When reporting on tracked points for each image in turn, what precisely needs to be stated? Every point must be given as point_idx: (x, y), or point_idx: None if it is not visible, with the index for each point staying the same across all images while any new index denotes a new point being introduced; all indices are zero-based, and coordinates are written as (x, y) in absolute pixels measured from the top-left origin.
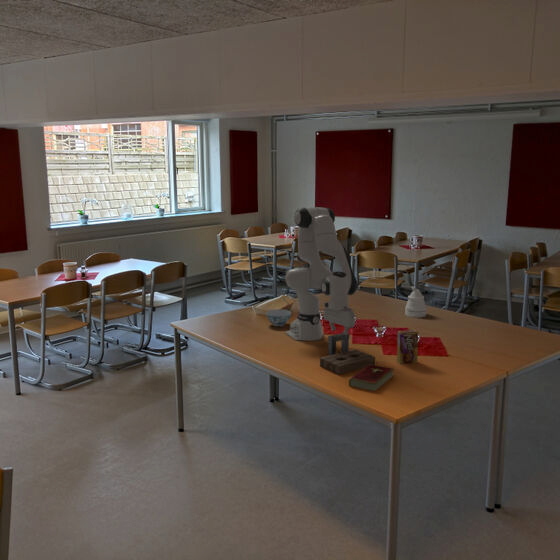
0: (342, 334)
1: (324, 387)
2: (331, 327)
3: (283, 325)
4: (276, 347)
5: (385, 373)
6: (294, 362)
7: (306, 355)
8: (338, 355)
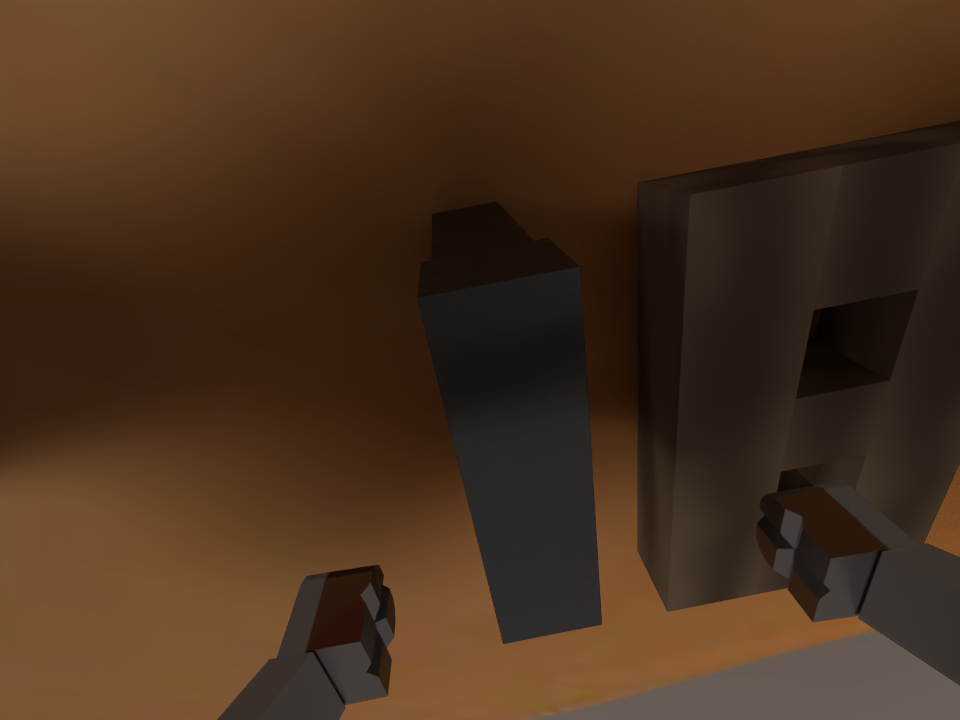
0: (541, 431)
1: None
2: (330, 698)
3: None
4: (95, 672)
5: None
6: (484, 646)
7: (371, 560)
8: (726, 479)
